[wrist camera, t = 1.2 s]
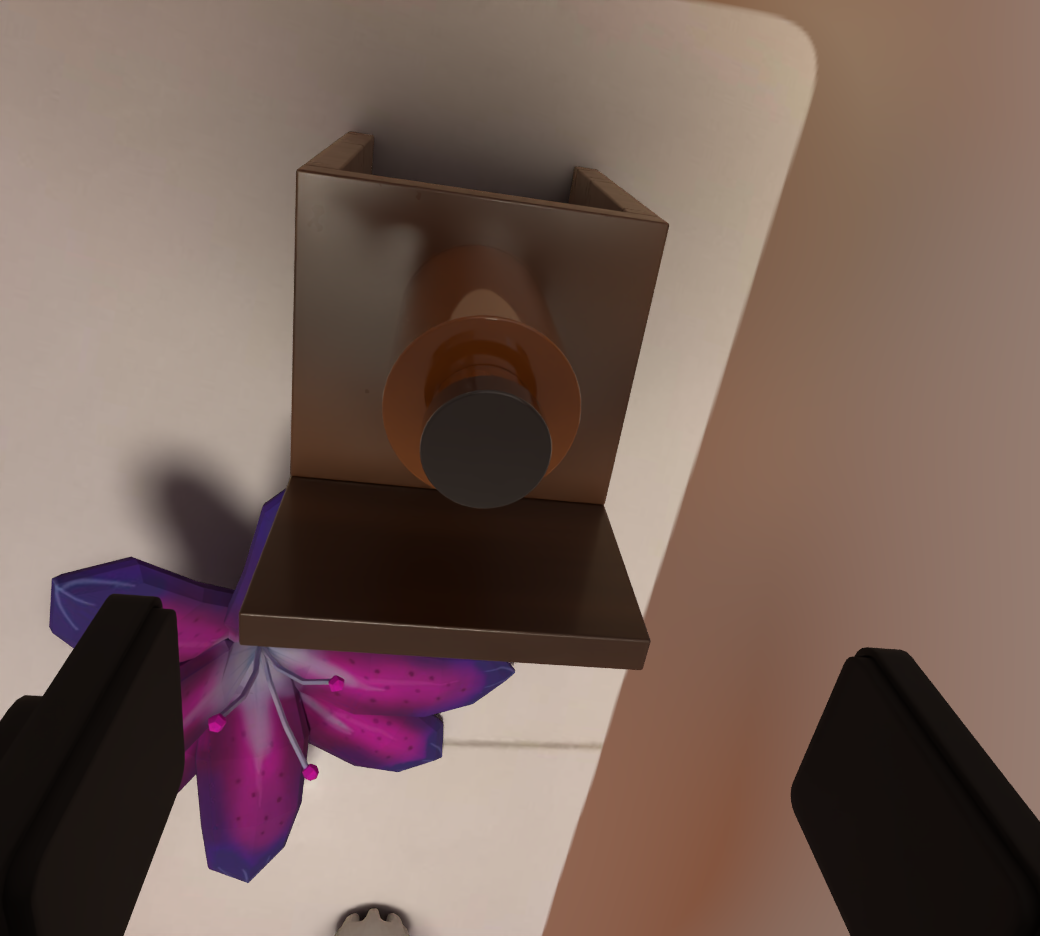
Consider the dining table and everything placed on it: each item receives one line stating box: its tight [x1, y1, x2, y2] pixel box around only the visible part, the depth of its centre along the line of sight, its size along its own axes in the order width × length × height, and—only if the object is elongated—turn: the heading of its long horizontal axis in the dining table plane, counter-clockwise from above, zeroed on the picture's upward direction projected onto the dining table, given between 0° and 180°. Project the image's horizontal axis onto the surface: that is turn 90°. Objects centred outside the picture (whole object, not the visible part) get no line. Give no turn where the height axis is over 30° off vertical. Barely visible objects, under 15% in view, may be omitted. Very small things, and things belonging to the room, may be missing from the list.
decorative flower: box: [49, 489, 515, 883], centre depth 45 cm, size 31×31×10 cm
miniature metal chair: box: [239, 132, 669, 670], centre depth 30 cm, size 12×12×22 cm
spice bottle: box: [382, 245, 581, 509], centre depth 22 cm, size 5×5×10 cm
